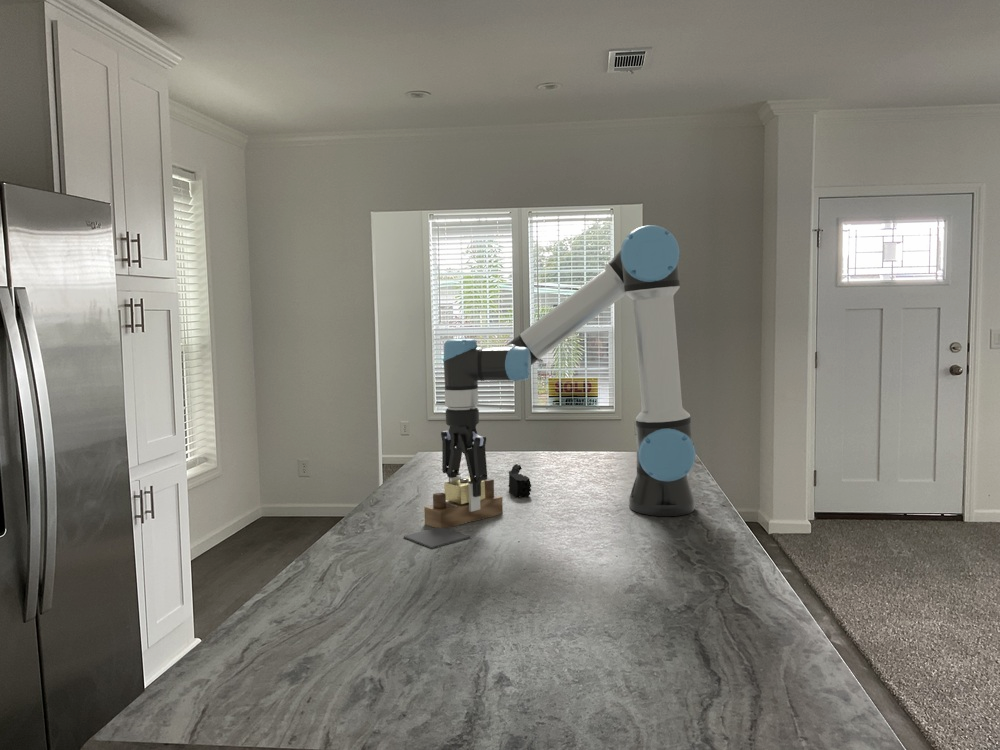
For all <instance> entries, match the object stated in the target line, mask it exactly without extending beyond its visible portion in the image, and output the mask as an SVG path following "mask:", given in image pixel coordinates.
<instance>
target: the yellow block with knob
mask: <svg viewBox="0 0 1000 750" xmlns="http://www.w3.org/2000/svg"><path fill="white" fill-rule="evenodd" d="M468 481H471V480H470V476H468V477H463V478H462V477H461V479H459V480H454V481H449V480H448V481H445V482H444V483H443V485H444V493H445V494H446V501H451V502H455V503H459V504H464V503H468V502H469V493H468ZM484 498H485V481H481V496H480V499H484Z"/></svg>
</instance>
